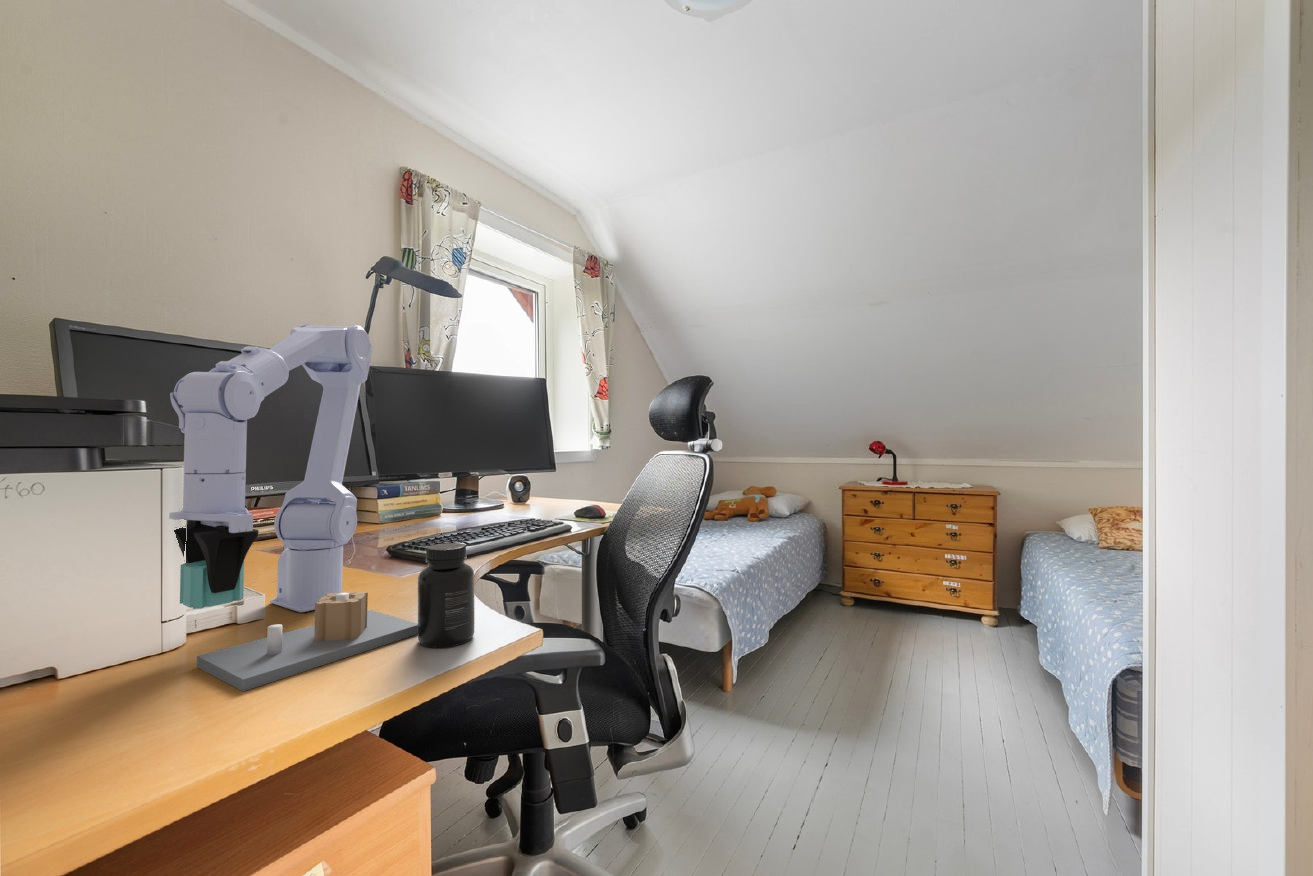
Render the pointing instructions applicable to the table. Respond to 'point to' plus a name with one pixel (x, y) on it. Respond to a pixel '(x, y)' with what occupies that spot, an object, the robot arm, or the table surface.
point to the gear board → (308, 643)
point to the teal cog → (205, 587)
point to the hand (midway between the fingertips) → (212, 587)
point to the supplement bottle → (445, 597)
